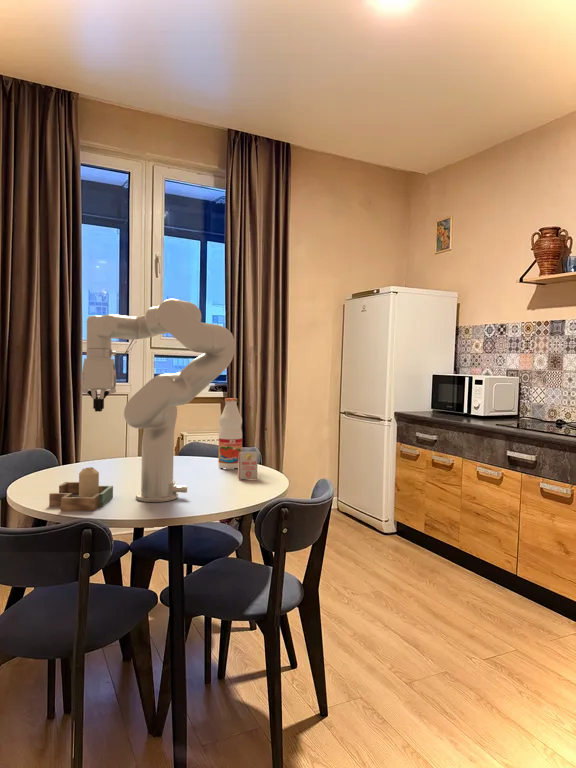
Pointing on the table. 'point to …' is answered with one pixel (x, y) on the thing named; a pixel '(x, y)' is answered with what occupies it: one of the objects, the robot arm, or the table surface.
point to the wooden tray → (79, 498)
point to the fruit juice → (230, 435)
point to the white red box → (247, 465)
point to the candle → (88, 482)
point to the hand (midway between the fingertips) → (98, 411)
